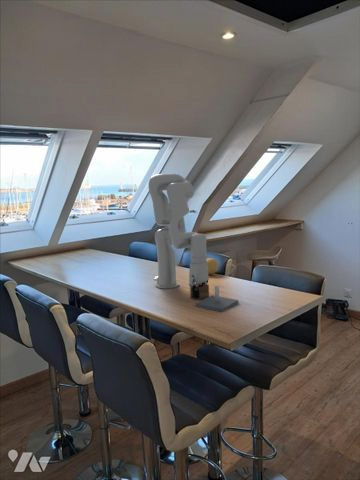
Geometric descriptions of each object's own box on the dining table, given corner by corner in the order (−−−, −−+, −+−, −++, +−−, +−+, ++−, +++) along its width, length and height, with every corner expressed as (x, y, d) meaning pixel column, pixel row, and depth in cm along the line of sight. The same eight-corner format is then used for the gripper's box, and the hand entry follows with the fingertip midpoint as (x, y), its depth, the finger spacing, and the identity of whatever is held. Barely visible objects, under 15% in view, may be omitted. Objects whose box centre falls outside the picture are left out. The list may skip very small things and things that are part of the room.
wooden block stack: (190, 298, 178) (190, 286, 177) (198, 294, 183) (197, 283, 182) (201, 300, 174) (201, 287, 173) (209, 296, 179) (208, 284, 178)
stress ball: (220, 276, 222) (220, 263, 228) (215, 266, 215) (216, 253, 221) (204, 278, 225) (204, 265, 231) (199, 268, 218) (200, 255, 224)
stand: (195, 306, 165) (194, 288, 164) (212, 298, 176) (212, 281, 175) (222, 312, 157) (221, 292, 156) (238, 303, 168) (238, 285, 167)
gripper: (202, 255, 185) (203, 290, 187) (181, 262, 171) (182, 299, 174) (215, 257, 180) (215, 292, 183) (194, 263, 167) (195, 302, 169)
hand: (199, 295), depth 178 cm, fingers closed on wooden block stack, 6 cm apart
